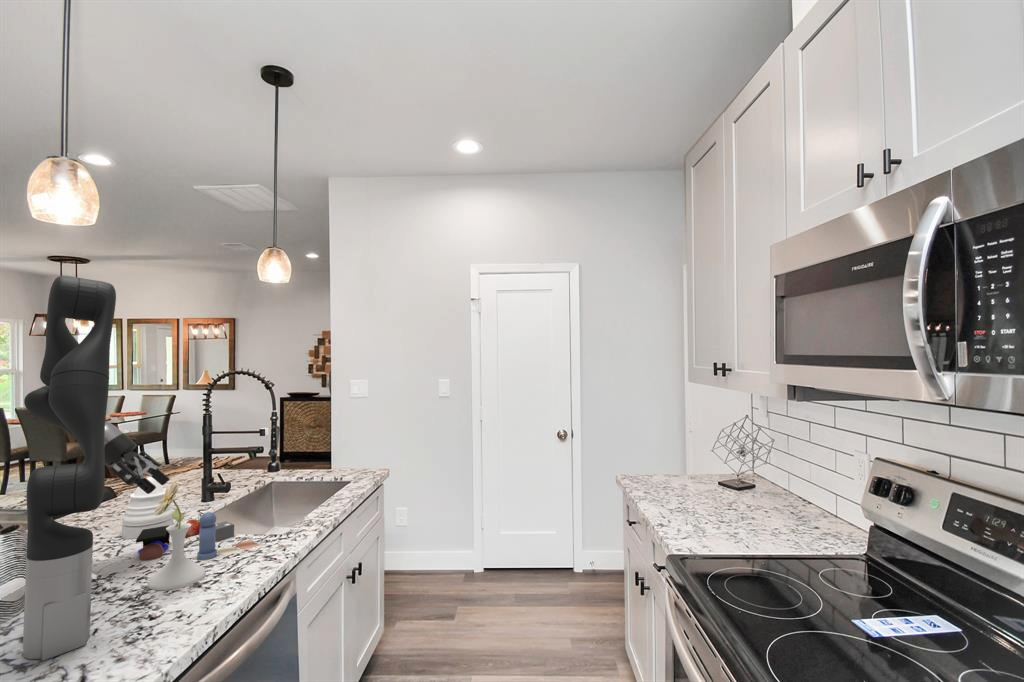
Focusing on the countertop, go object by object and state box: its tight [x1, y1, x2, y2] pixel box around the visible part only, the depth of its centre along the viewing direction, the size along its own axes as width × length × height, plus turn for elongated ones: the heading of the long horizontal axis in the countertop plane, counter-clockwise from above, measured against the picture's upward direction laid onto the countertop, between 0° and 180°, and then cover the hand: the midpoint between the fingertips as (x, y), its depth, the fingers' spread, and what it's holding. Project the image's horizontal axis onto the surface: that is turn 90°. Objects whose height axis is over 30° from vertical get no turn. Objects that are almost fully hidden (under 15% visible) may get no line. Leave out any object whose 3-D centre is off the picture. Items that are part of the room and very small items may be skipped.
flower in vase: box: [147, 481, 207, 592], centre depth 116 cm, size 13×11×25 cm
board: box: [191, 539, 261, 564], centre depth 134 cm, size 8×16×2 cm, turn 146°
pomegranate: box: [185, 519, 201, 539], centre depth 148 cm, size 6×6×8 cm
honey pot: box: [121, 470, 174, 540], centre depth 154 cm, size 13×13×18 cm
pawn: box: [196, 511, 218, 561], centre depth 130 cm, size 4×4×12 cm
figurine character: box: [135, 525, 171, 562], centre depth 134 cm, size 7×8×15 cm
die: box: [215, 520, 235, 543], centre depth 144 cm, size 5×5×5 cm
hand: (159, 486), depth 127 cm, fingers open, 8 cm apart
